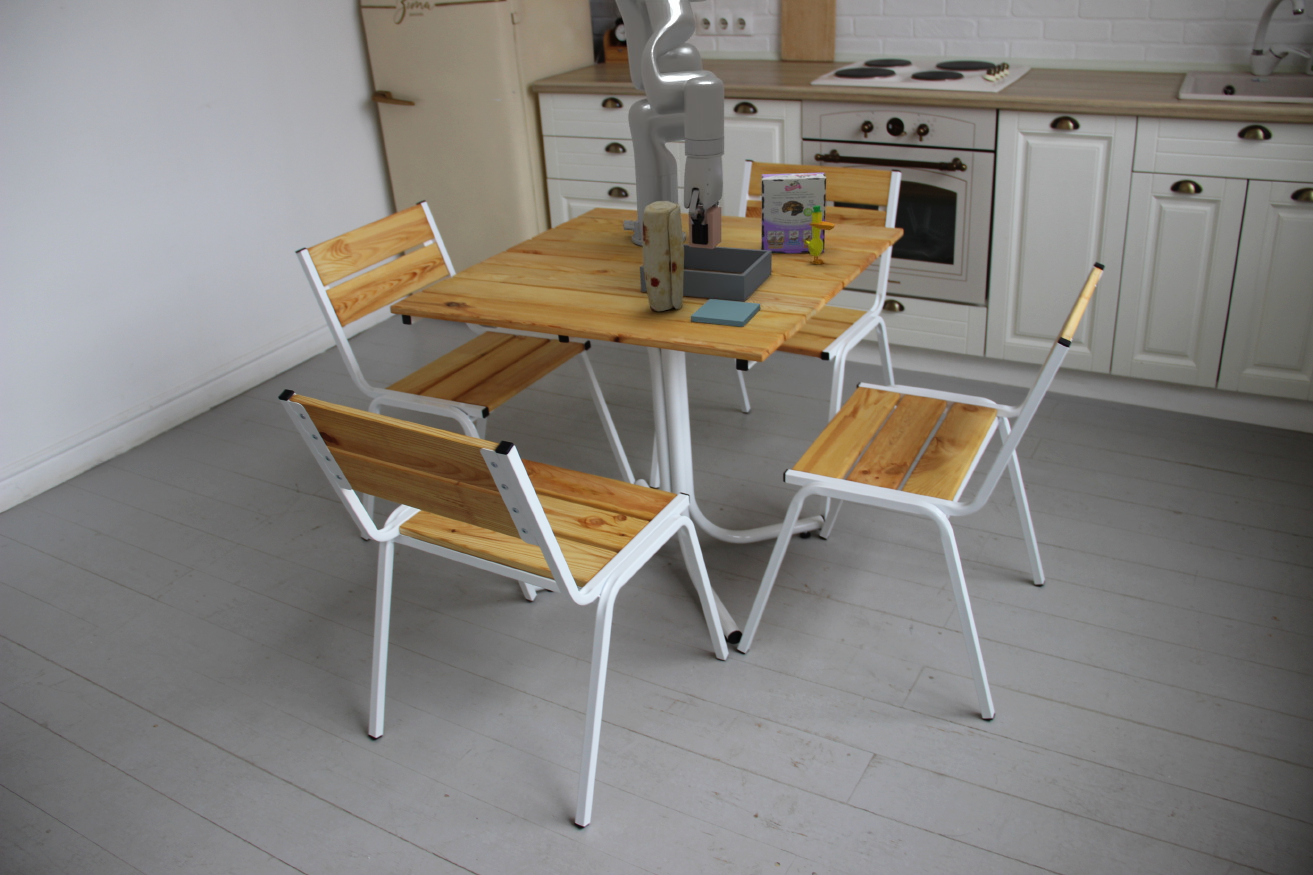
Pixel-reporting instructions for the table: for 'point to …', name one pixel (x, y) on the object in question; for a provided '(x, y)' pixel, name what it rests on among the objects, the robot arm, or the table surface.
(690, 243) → the block
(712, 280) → the crate
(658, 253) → the food model
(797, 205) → the candy box
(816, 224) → the toy figure
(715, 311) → the pad
